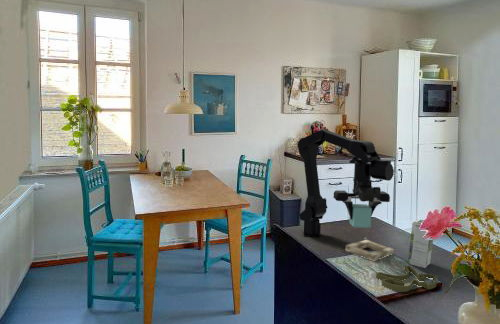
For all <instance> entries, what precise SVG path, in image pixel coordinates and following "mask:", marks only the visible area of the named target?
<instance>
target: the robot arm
mask: <svg viewBox="0 0 500 324" xmlns="http://www.w3.org/2000/svg"><path fill="white" fill-rule="evenodd" d="M324 143H329V144H331V145H334V146H336V147H339V148H342V149H344V150H345V151H347V152H348V153H349V154H350V155H352V156H353V157H352V158H351V159H350V160H349V162H348V163H349V164H354V169H353V171H354V172H353V178H352V181H353V188H352V192H349V193H348V192H347V191H346V190H337V189H336V190H334V192H333V199H334V200H335V201H337V202H342V203H343V204H344V205H345V207H346V209H347V212H348V215H349V217H350V219H351V220H352V204H354V203H353V201H352V199H357V200H358V199H359V201H360V202H363V203H364V202H368V204H367V205H368V206H369V207H371V208H372V211H371V217H372V216H373V213H374V212H375V209H376V208H377V207H378V206H379V205H382V203H390V201H391V196H390V194H389V193H387V192H385V191H381V190H382V189H381V187H380V186H372V180H371V179H375V180H381V181H391V180H392V179H393V177H394V173H395V170H394V166H393V164H392V160H391V159H387V160H385V159H381V157H380V155H379V154H378V152H377V151H376V147H375V145H374V143H373V142H372V141H370V140H369V141H368V140H362V139H354V138H353V139H352V138H350V137H347V136H345V135H342V134H339V133H336V132H333V131H332V130H331V131H330V130H328V129H326V128H325V129H318V130H316V131H315V132H313V133H312V134H309V135H307V136H305V137H300V139H299V140H298V141H297V150H298V154H299V155H300V157H301V158H302V161H303V165H304V173H305V182H306V183H305V184H306V190H307V197H306V200H305V202H304V210H303V211H301V213H299V214H298V216H299V220H301V221H302V230H301V233H302V235H303V237H321V229H322V228H321V227H322V225H321V222H320V221H321V220H322V219H323V218H324V215H326V213H327V209H328V205H327V204H328V203H327V198H326V197H322V195H321V190H320V189H321V188H320V181H319V173H318V165H317V157H318V154H319V150H320V149H319V148H320V147H321V146H322V145H323V144H324Z"/></svg>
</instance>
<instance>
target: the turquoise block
mask: <svg viewBox="0 0 500 324" xmlns="http://www.w3.org/2000/svg"><path fill="white" fill-rule="evenodd" d="M371 211H372V208H371V207H369V206H368V204H366V203H363V204H362V203H353V204H352V220H351V219H350V216H349V219H348V221H349V222H348V223H349V224H350V225H351V226H352V227H353V228H370V229H371V226H372V225H371V224H372V216H371Z"/></svg>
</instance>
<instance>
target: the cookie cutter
mask: <svg viewBox="0 0 500 324" xmlns="http://www.w3.org/2000/svg"><path fill="white" fill-rule="evenodd" d="M405 271H406V272H407V273H406V272H405ZM409 271H410V272H409ZM404 272H405V274H401V275H398V274H388V273H384V272H380V271H379V272H376V274H375V279H377V280H379V279H380V280H379V281H381V287H383V286H384V287H383V288H385V287H386V289H388V288H389V289H388V290H391V289H392V290H391V291H394V290H395V291H394V292H399V291H401V293H405V292H410V291H411V290H410V289H412V288H413V286H414V285H413V284H416V285H418V286H422V287H424V288H423V289H426V290H432V289H435V288H436V287H437V283H438V279H437V277H438V276H437V275H435V274H431V273H419V272H417V270H415V269H414V268H413V267H411V265H405V266H404ZM411 272H412V273H413V274H414V275H415V276H416V277H417V278H416V277H415V276H414V275H413V274H412V273H411ZM410 273H411V274H412V275H413V276H414V277H415V278H416V279H411V282H410V284H408V285H405V284H406V281H405V280H404V279H406V280H408V279H409V276H410ZM426 277H428V278H433V280H434V281H435V282H433V280H432V283H431V282H430V283H429V282H425V280H426V279H425V278H426ZM407 278H408V279H407ZM417 279H418V280H419V281H424V282H419V281H418V280H417ZM402 280H403V281H402ZM412 285H413V286H412ZM416 285H415V286H416ZM411 287H412V288H411Z"/></svg>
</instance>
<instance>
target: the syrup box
mask: <svg viewBox="0 0 500 324" xmlns="http://www.w3.org/2000/svg"><path fill="white" fill-rule="evenodd" d="M424 220H425V219H419V218H418V219H416V220H415V221H413V222H412V223H411V224H412V226H411V231H410V232H411V233H410V240H409V241H410V242H409V250H408V258H407V259H408V260H407V264H409V265H410V266H411V265H412V266H416V267H419V268H424V269H427V267H429V265H430V264H431V261H432V251H433V245H434V244H433V243H434V239H433V240H425V239H423V238H422V237H423V236H424V235H425V233H426V231H420V230H419V227H420V225H421V223H422V222H423V221H424Z"/></svg>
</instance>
